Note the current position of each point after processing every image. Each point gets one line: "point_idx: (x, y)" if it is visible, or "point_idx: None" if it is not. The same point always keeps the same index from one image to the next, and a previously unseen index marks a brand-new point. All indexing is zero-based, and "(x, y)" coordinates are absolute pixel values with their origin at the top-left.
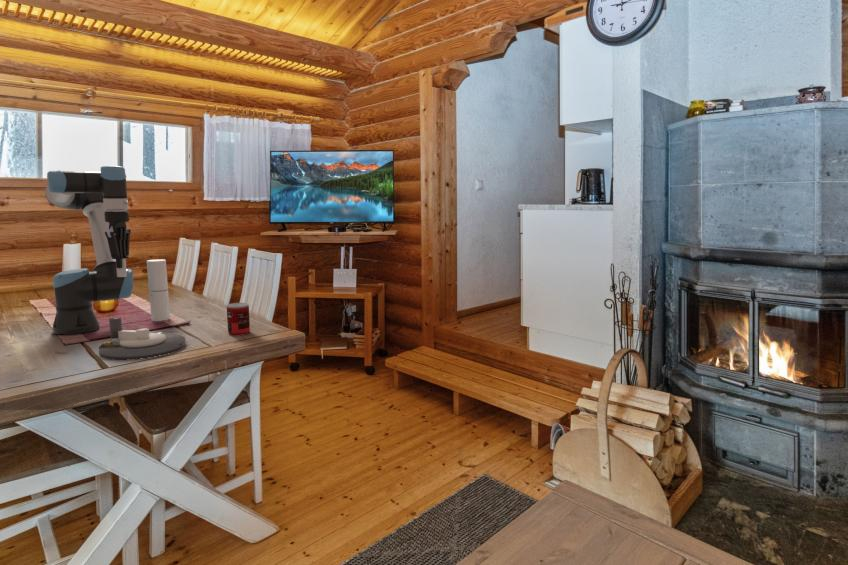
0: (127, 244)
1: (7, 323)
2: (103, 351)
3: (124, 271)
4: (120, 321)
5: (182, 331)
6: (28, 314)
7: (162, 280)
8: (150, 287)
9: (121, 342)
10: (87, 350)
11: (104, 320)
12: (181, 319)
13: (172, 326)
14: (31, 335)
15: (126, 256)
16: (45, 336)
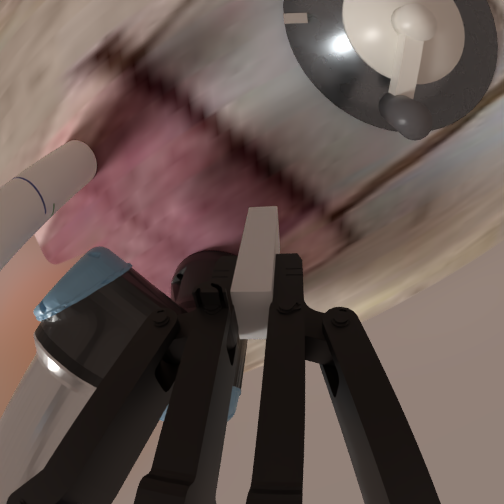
0: (124, 403)
1: None
2: (479, 99)
3: (274, 226)
4: (413, 100)
5: (190, 5)
6: None
7: (3, 198)
8: (38, 221)
9: (450, 69)
10: (410, 164)
11: None
12: (65, 107)
13: (136, 74)
14: None
15: (209, 303)
16: None
